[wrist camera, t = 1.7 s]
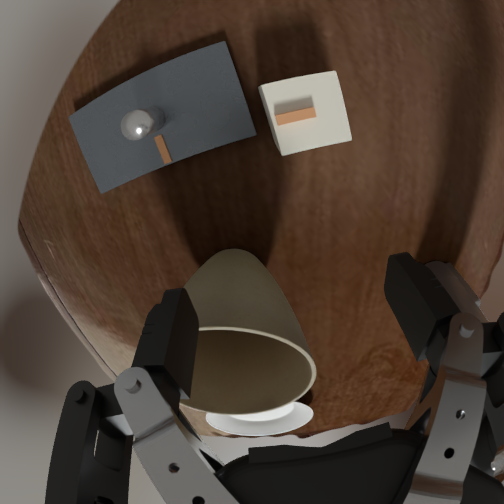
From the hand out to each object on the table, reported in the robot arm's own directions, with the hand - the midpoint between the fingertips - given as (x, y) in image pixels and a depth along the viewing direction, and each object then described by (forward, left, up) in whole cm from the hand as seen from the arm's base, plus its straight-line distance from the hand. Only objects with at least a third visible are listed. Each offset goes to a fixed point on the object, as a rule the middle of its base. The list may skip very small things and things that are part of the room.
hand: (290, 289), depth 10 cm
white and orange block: (-5, -4, -20) cm, 21 cm away
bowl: (+15, +54, -20) cm, 59 cm away
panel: (+9, -8, -20) cm, 23 cm away
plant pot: (+7, +13, -20) cm, 25 cm away
